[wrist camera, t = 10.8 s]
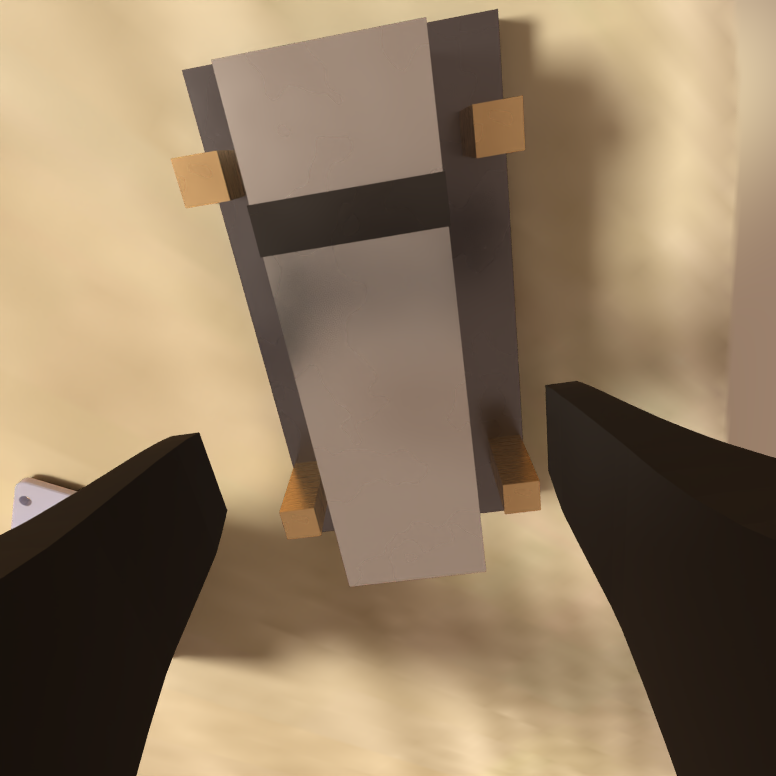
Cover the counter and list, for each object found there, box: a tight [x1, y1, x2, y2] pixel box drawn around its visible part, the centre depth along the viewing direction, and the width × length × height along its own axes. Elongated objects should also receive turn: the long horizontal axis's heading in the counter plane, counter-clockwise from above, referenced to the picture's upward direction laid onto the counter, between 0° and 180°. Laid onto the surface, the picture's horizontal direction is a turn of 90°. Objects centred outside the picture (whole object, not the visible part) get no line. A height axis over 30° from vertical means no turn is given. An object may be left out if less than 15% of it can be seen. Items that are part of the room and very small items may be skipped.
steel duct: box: [211, 17, 486, 587], centre depth 16 cm, size 15×5×5 cm, turn 9°
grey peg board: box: [171, 9, 541, 539], centre depth 17 cm, size 17×9×4 cm, turn 9°
